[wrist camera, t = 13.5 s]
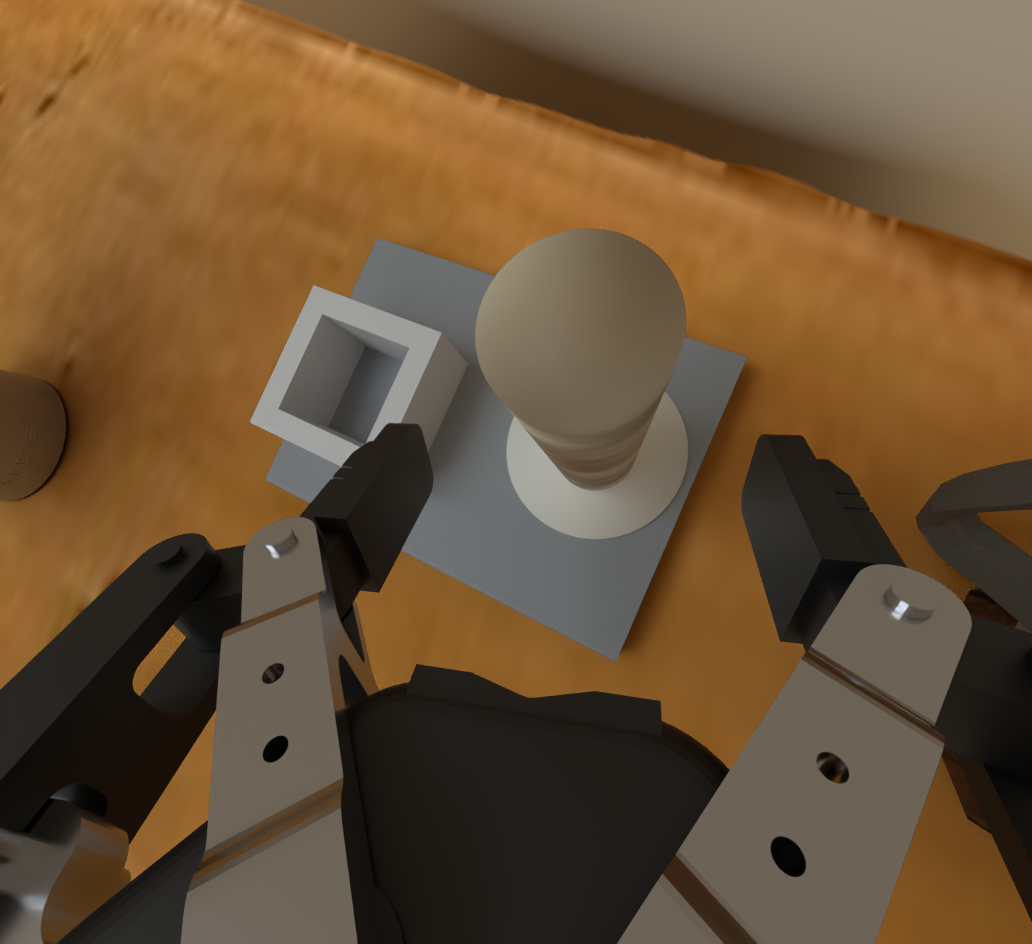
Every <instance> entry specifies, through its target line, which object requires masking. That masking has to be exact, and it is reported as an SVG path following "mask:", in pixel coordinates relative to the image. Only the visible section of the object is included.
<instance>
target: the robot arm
mask: <svg viewBox="0 0 1032 944" xmlns="http://www.w3.org/2000/svg"><path fill="white" fill-rule="evenodd" d="M65 436H66V417H65V410H64V407H63V404H62V401H61V399H60V397H59V396H58V394H57V393H56V391H55V390H54V389H53V388H52V387H51V386H50V385H49V384H47V383H45V382H43V381H41V380H39V379H35V378H31V377H27V376H23V375H20V374H16V373H12V372H8V371H4V370H0V501H14V500H18V499H21V498H24V497H26V496H28V495H29V494H31V493H33V492H34V491H35V490H36V489H38V488H39V487H40V486H41V485H42V484H43V483H44V482H45V481H46V480H47V478H48V477H49V476H50V475H51V473H52V471H53V470H54V468H55V466H56V464H57V463H58V460H59V458H60V455H61V453H62V450H63V446H64V441H65ZM432 488H433V470H432V466H431V463H430V459H429V455H428V451H427V447H426V443H425V440H424V436H423V432H422V429H421V427H420V426H419V425H418V424H412V423H388V424H386V425H385V427H384V428H383V429H382V430H381V432H380V433H379V434H378V435H377V437H376V438H375V439H374V440H373V441H369V442H367V443H366V444H364V445H363V446H361V447H360V448H358V449H357V450H355V451H354V452H353V453H352V454H351V455H350V456H349V457H348V459H347V460H346V461H345V462H344V463H343V465H342V468H339V469H338V471H337V472H336V473H335V474H334V476H333V479H330V480H329V482H328V483H327V484H326V485H325V486H324V488H323V489H322V490H321V491H320V492H319V494H318V495H317V496H316V497H315V498H314V500H313V501H312V502H311V503H310V504H309V506H308V507H307V508H306V509H305V511H304V512H303V513H302V514H301V515H300V517H290V518H285V519H282V520H278V521H276V522H273V523H271V524H269V525H267V526H266V527H264V528H263V529H261V530H260V531H258V532H257V533H256V534H255V535H254V536H253V537H252V538H251V539H250V540H249V541H248V543H247V545H243V546H237V547H231V548H225V549H219V550H214V549H213V547H212V546H211V545H210V543H209V542H208V541H207V539H206V538H205V537H204V536H202V535H200V534H195V533H189V534H182V535H178V536H175V537H172V538H169V539H167V540H164V541H162V542H160V543H158V544H157V545H155V546H153V547H152V548H150V549H149V550H147V551H146V552H145V553H144V554H142V555H141V556H140V557H139V558H138V559H137V560H136V561H135V562H134V563H133V564H132V565H131V566H130V567H129V568H127V569H126V570H125V571H124V572H123V573H122V574H121V575H120V576H119V577H118V578H117V579H116V580H115V581H114V582H113V583H112V584H111V585H110V586H109V587H108V588H107V589H105V590H104V591H103V592H102V593H101V594H100V595H99V596H98V597H97V598H96V599H95V600H94V601H93V602H92V603H91V604H90V605H89V606H88V607H87V608H86V609H85V610H83V611H82V612H81V613H80V614H79V615H78V616H77V617H76V618H75V619H74V620H73V621H72V622H71V623H70V624H69V625H68V626H67V627H66V628H65V629H64V630H63V631H61V632H60V633H59V634H58V635H57V636H56V637H55V638H54V639H53V640H52V641H51V642H50V643H49V644H48V645H47V646H46V647H45V648H44V649H43V650H42V651H41V652H39V653H38V654H37V655H36V656H35V657H34V658H33V659H32V660H31V661H30V662H29V663H28V664H27V665H26V666H25V667H24V668H23V669H22V670H21V671H20V672H19V673H17V674H16V675H15V676H14V677H13V678H12V679H11V680H10V681H9V682H8V683H7V684H6V685H5V686H4V687H3V688H2V689H1V690H0V944H875V941H876V938H877V935H878V933H879V930H880V927H881V924H882V921H883V919H884V916H885V913H886V910H887V907H888V904H889V902H890V899H891V896H892V893H893V890H894V888H895V885H896V882H897V879H898V876H899V873H900V871H901V868H902V865H903V862H904V859H905V857H906V854H907V851H908V848H909V845H910V842H911V840H912V837H913V834H914V831H915V828H916V825H917V823H918V820H919V817H920V814H921V811H922V809H923V806H924V803H925V800H926V797H927V794H928V792H929V789H930V786H931V783H932V780H933V778H934V775H935V772H936V769H937V766H938V763H939V761H940V758H941V755H942V752H943V748H944V747H945V748H947V749H950V750H952V751H954V753H955V755H956V758H957V760H958V762H959V764H960V766H961V769H962V771H963V773H964V775H965V777H966V779H967V782H968V784H969V786H970V788H971V790H972V793H973V795H974V797H975V799H976V801H977V803H978V806H979V808H980V810H981V812H982V814H983V816H984V819H985V821H986V823H987V825H988V827H989V830H990V832H991V834H992V836H993V838H994V840H995V843H996V845H997V847H998V849H999V851H1000V854H1001V856H1002V858H1003V860H1004V862H1005V864H1006V867H1007V869H1008V871H1009V873H1010V875H1011V877H1012V880H1013V882H1014V884H1015V886H1016V888H1017V891H1018V893H1019V895H1020V897H1021V899H1022V901H1023V904H1024V906H1025V908H1026V910H1027V912H1028V915H1029V917H1030V919H1031V921H1032V633H1029V632H1026V631H1023V630H1020V629H1016V628H1013V627H1010V626H1007V625H1003V624H1000V623H997V622H993V621H990V620H987V619H984V618H980V617H978V616H975V615H972V614H969V611H968V610H967V608H966V606H965V605H964V603H963V602H962V601H961V600H960V599H959V598H958V597H957V596H956V595H955V594H954V593H953V592H952V591H951V590H949V589H948V588H947V587H945V586H944V585H943V584H941V583H939V582H938V581H936V580H934V579H933V578H931V577H929V576H927V575H925V574H922V573H920V572H917V571H915V570H912V569H909V568H907V567H906V565H905V564H904V562H903V560H902V559H901V557H900V556H899V554H898V552H897V551H896V549H895V548H894V546H893V545H892V543H891V541H890V540H889V538H888V537H887V535H886V533H885V532H884V530H883V529H882V527H881V525H880V524H879V522H878V521H877V519H876V518H875V516H874V514H873V513H872V512H870V511H869V510H870V508H869V506H868V505H867V503H866V502H865V500H864V498H863V497H860V492H859V491H858V489H857V487H856V486H855V484H854V483H853V481H852V479H851V478H850V476H849V475H848V474H846V473H845V472H844V471H842V470H841V469H840V468H838V467H837V466H836V465H835V464H833V463H832V462H831V461H829V460H826V459H816V458H815V456H814V454H813V453H812V451H811V449H810V447H809V446H808V444H807V442H806V440H805V439H804V437H803V436H801V435H769V434H763V435H761V436H760V437H759V439H758V441H757V444H756V447H755V450H754V454H753V457H752V461H751V464H750V467H749V471H748V474H747V477H746V481H745V484H744V488H743V492H742V514H743V518H744V521H745V524H746V528H747V531H748V535H749V538H750V541H751V545H752V548H753V551H754V555H755V558H756V562H757V565H758V568H759V572H760V575H761V578H762V582H763V585H764V589H765V592H766V595H767V599H768V602H769V605H770V609H771V612H772V616H773V619H774V622H775V626H776V629H777V632H778V636H779V639H780V641H782V642H791V643H799V644H803V646H804V648H805V651H806V653H805V654H804V656H803V657H802V659H801V661H800V662H799V664H798V665H797V667H796V668H795V670H794V671H793V673H792V674H791V676H790V678H789V679H788V681H787V682H786V684H785V685H784V687H783V688H782V690H781V692H780V693H779V695H778V696H777V698H776V699H775V701H774V702H773V704H772V706H771V707H770V709H769V710H768V712H767V713H766V715H765V716H764V718H763V720H762V721H761V723H760V724H759V726H758V727H757V729H756V730H755V732H754V733H753V735H752V737H751V738H750V740H749V741H748V743H747V744H746V746H745V747H744V749H743V751H742V752H741V754H740V755H739V757H738V758H737V760H736V761H735V763H734V765H733V766H732V768H731V769H730V770H729V769H728V768H727V767H726V766H725V765H724V763H723V762H722V761H721V760H720V759H718V758H717V757H716V756H715V755H714V754H713V753H712V752H711V751H709V750H708V749H707V748H706V747H705V746H703V745H702V744H701V743H699V742H698V741H697V740H695V739H694V738H692V737H691V736H690V735H688V734H686V733H684V732H683V731H681V730H679V729H678V728H676V727H674V726H672V725H670V724H667V723H665V722H663V721H662V720H661V703H660V701H656V700H650V699H643V698H637V697H630V696H623V695H617V694H610V693H604V692H597V691H592V692H583V693H574V694H565V695H556V696H547V697H538V698H528V697H524V696H522V695H519V694H517V693H515V692H513V691H511V690H509V689H506V688H504V687H502V686H500V685H498V684H495V683H493V682H491V681H489V680H487V679H484V678H482V677H480V676H478V675H476V674H473V673H471V672H465V671H458V670H451V669H445V668H438V667H432V666H425V665H418V664H416V667H415V669H414V672H413V675H412V677H411V680H410V682H408V683H403V684H399V685H395V686H391V687H388V688H385V689H383V690H380V691H379V689H378V687H377V685H376V682H375V679H374V676H373V673H372V669H371V665H370V661H369V656H368V652H367V647H366V643H365V639H364V634H363V630H362V626H361V621H360V617H359V612H358V608H357V605H356V603H355V601H354V600H355V598H356V596H357V595H358V593H359V591H360V590H361V591H370V592H378V593H379V591H380V590H381V588H382V586H383V584H384V582H385V580H386V578H387V576H388V574H389V572H390V571H391V569H392V567H393V565H394V563H395V561H396V559H397V557H398V555H399V553H400V551H401V550H402V548H403V546H404V544H405V542H406V540H407V538H408V536H409V534H410V532H411V531H412V529H413V527H414V525H415V523H416V521H417V519H418V517H419V515H420V513H421V512H422V510H423V508H424V506H425V504H426V502H427V500H428V498H429V496H430V494H431V492H432ZM173 624H174V625H175V626H176V627H177V628H178V629H179V630H180V631H181V632H182V633H183V634H184V635H185V637H186V639H185V640H184V641H183V642H182V644H181V645H180V646H179V647H178V649H177V650H176V651H175V652H174V654H173V655H172V656H171V657H170V659H169V660H168V661H167V663H166V664H165V665H164V666H163V668H162V669H161V670H160V671H159V673H158V674H157V675H156V676H155V678H154V679H153V680H152V681H151V683H150V684H149V685H148V687H147V688H146V689H145V690H144V692H143V693H142V694H141V695H140V696H138V695H137V694H136V693H135V691H134V690H133V684H132V682H133V677H134V674H135V671H136V669H137V668H138V666H139V665H140V663H141V662H142V661H143V660H144V658H145V657H146V656H147V655H148V654H149V652H150V651H151V650H152V649H153V648H154V647H155V645H156V644H157V643H158V642H159V641H160V639H161V638H162V637H163V636H164V635H165V633H166V632H167V631H168V630H169V629H170V627H171V626H172V625H173ZM215 710H216V719H215V732H214V746H213V759H212V773H211V787H210V800H209V814H208V820H207V821H206V822H205V823H204V824H202V825H201V826H200V827H199V828H197V829H196V830H195V831H194V832H192V833H191V834H190V835H189V836H187V837H186V838H185V839H184V840H182V841H181V842H180V843H179V844H177V845H176V846H175V847H174V848H172V849H171V850H170V851H169V852H167V853H166V854H165V855H164V856H162V857H161V858H160V859H159V860H157V861H156V862H155V863H154V864H152V865H151V866H150V867H149V868H147V869H146V870H145V871H144V872H142V873H141V874H140V875H139V876H137V877H136V878H135V879H134V880H132V881H131V874H130V872H129V870H127V869H125V868H124V866H125V863H126V859H127V856H128V849H129V844H130V843H131V841H132V840H133V838H134V837H135V835H136V833H137V832H138V830H139V829H140V827H141V826H142V824H143V823H144V821H145V819H146V818H147V816H148V815H149V813H150V812H151V810H152V809H153V807H154V805H155V804H156V802H157V801H158V799H159V798H160V796H161V795H162V793H163V791H164V790H165V788H166V787H167V785H168V784H169V782H170V781H171V779H172V777H173V776H174V774H175V773H176V771H177V770H178V768H179V767H180V765H181V763H182V762H183V760H184V759H185V757H186V756H187V754H188V752H189V751H190V749H191V748H192V746H193V745H194V743H195V742H196V740H197V738H198V737H199V735H200V734H201V732H202V731H203V729H204V728H205V726H206V724H207V723H208V721H209V720H210V718H211V717H212V715H213V714H214V712H215Z"/></svg>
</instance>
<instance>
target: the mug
mask: <svg viewBox="0 0 1032 944" xmlns="http://www.w3.org/2000/svg"><path fill="white" fill-rule="evenodd" d="M1028 509H1032V459H1029V460H1024V461H1018V462H1012V463H1007V464H1002V465H998V466H994V467H990V468H986V469H982V470H978V471H974V472H970V473H966V474H962V475H960V476H958V477H956V478H954V479H951V480H949V481H947V482H945V483H943V484H941V485H940V487H939V488H938V489H937V490H936V492H935V493H934V494H933V495H932V496H931V498H930V499H929V500H928V502H927V503H926V504H925V506H924V507H923V508H922V510H921V511H920V512H919V514H918V515H917V517H916V521H917V524H918V527H919V529H920V530H921V532H922V533H923V535H924V536H925V538H926V539H927V541H928V542H929V544H930V545H931V547H932V548H933V550H934V551H935V553H936V554H937V555H939V556H940V557H941V558H942V559H944V560H945V561H946V562H947V563H949V564H950V565H951V566H953V567H954V568H955V569H956V570H958V571H959V572H960V573H961V574H963V575H964V576H965V577H966V578H968V579H969V580H970V581H972V582H973V583H974V584H975V585H977V586H978V587H979V588H980V589H975V590H971V591H969V593H968V595H967V597H966V599H965V601H964V605H965V606H966V608H967V610H968V611H969V614H972V615H975V616H978V617H980V618H984V619H987V620H990V621H993V622H997V623H1000V624H1003V625H1007V626H1010V627H1013V628H1016V629H1020V630H1023V631H1026V632H1029V633H1032V557H1030V556H1029V555H1028V554H1027V553H1025V552H1024V551H1022V550H1021V549H1020V548H1018V547H1017V546H1015V545H1014V544H1013V543H1011V542H1010V541H1008V540H1007V539H1006V538H1004V537H1003V536H1001V535H1000V534H999V533H997V532H996V531H994V530H993V529H992V528H990V527H989V526H987V525H986V524H985V523H983V522H982V521H981V520H980V519H979V517H978V515H977V514H976V513H978V512H992V511H1010V510H1028ZM942 758H943V760H944V762H945V765H946V767H947V770H948V772H949V775H950V777H951V779H952V782H953V784H954V787H955V789H956V792H957V794H958V796H959V799H960V801H961V804H962V806H963V809H964V811H965V813H966V816H967V818H968V819H969V820H970V821H972V822H974V823H975V824H977V825H978V826H980V827H981V828H983V829H984V830H986V831H988V832H989V833H991V832H990V830H989V827H988V825H987V823H986V821H985V819H984V816H983V814H982V812H981V810H980V808H979V806H978V803H977V801H976V799H975V797H974V795H973V793H972V790H971V788H970V786H969V784H968V782H967V779H966V777H965V775H964V773H963V771H962V769H961V766H960V764H959V762H958V760H957V758H956V755H955V753H954V751H952V750H950V749H947V748H945V747H944V748H943V752H942Z"/></svg>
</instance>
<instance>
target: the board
mask: <svg viewBox="0 0 1032 944" xmlns="http://www.w3.org/2000/svg"><path fill="white" fill-rule="evenodd" d="M494 278H495V276H494V275H491V274H488V273H485V272H482V271H479V270H476V269H473V268H469V267H466V266H463V265H460V264H457V263H454V262H451V261H448V260H445V259H442V258H438V257H435V256H432V255H429V254H426V253H423V252H420V251H417V250H414V249H411V248H407V247H404V246H401V245H398V244H395V243H392V242H389V241H386V240H383V239H380V238H377V240H376V242H375V244H374V247H373V249H372V251H371V253H370V255H369V257H368V259H367V262H366V264H365V266H364V268H363V270H362V272H361V275H360V277H359V279H358V281H357V283H356V285H355V287H354V290H353V292H352V294H351V296H350V298H347V297H344V296H341V295H338V294H336V293H333V292H330V291H328V290H325V289H322V288H319V287H317V286H313V288H312V290H311V292H310V294H309V296H308V298H307V301H306V303H305V305H304V307H303V309H302V311H301V313H300V316H299V318H298V320H297V322H296V324H295V326H294V328H293V331H292V333H291V335H290V337H289V339H288V341H287V343H286V345H285V348H284V350H283V352H282V354H281V356H280V358H279V360H278V363H277V365H276V367H275V369H274V371H273V373H272V375H271V377H270V380H269V382H268V384H267V386H266V388H265V390H264V392H263V395H262V397H261V399H260V401H259V403H258V405H257V407H256V409H255V412H254V414H253V416H252V418H251V420H250V423H252V424H254V425H256V426H258V427H260V428H262V429H264V430H266V431H269V432H271V433H273V434H275V435H277V436H279V437H281V438H283V439H284V440H283V442H282V444H281V446H280V449H279V451H278V453H277V455H276V457H275V459H274V461H273V464H272V466H271V468H270V470H269V472H268V474H267V477H266V479H265V480H266V481H268V482H270V483H272V484H274V485H276V486H278V487H280V488H282V489H283V490H285V491H287V492H289V493H291V494H293V495H295V496H297V497H299V498H301V499H303V500H305V501H307V502H308V503H311V502H312V501H313V500H314V498H315V497H316V496H317V495H318V494H319V492H320V491H321V490H322V489H323V488H324V486H325V485H326V484H327V483H328V482H329V480H330V479H333V476H334V474H335V473H336V472H337V471H338V469H339V468H342V465H343V463H344V462H345V461H346V460H347V459H348V457H349V456H350V455H351V454H352V453H353V452H354V451H355V450H357V449H358V448H360V447H361V446H363V445H364V444H366V443H367V442H369V441H373V440H374V439H375V438H376V437H377V435H378V434H379V433H380V432H381V430H382V429H383V428H384V427H385V425H386V424H388V423H412V424H418V425H419V426H420V427H421V429H422V432H423V436H424V440H425V443H426V447H427V451H428V455H429V459H430V463H431V466H432V470H433V488H432V492H431V494H430V496H429V498H428V500H427V502H426V504H425V506H424V508H423V510H422V512H421V513H420V515H419V517H418V519H417V521H416V523H415V525H414V527H413V529H412V531H411V532H410V534H409V536H408V538H407V540H406V542H405V544H404V546H403V548H402V550H401V551H403V552H405V553H407V554H409V555H410V556H412V557H414V558H416V559H418V560H420V561H422V562H424V563H426V564H428V565H430V566H432V567H434V568H435V569H437V570H439V571H441V572H443V573H445V574H447V575H449V576H451V577H453V578H455V579H457V580H459V581H461V582H462V583H464V584H466V585H468V586H470V587H472V588H474V589H476V590H478V591H480V592H482V593H484V594H486V595H487V596H489V597H491V598H493V599H495V600H497V601H499V602H501V603H503V604H505V605H507V606H509V607H511V608H512V609H514V610H516V611H518V612H520V613H522V614H524V615H526V616H528V617H530V618H532V619H534V620H536V621H537V622H539V623H541V624H543V625H545V626H547V627H549V628H551V629H553V630H555V631H557V632H559V633H561V634H563V635H564V636H566V637H568V638H570V639H572V640H574V641H576V642H578V643H580V644H582V645H584V646H586V647H588V648H589V649H591V650H593V651H595V652H597V653H599V654H601V655H603V656H605V657H607V658H609V659H611V660H613V661H614V662H616V661H617V658H618V656H619V654H620V651H621V649H622V647H623V644H624V642H625V640H626V637H627V635H628V633H629V630H630V628H631V626H632V623H633V621H634V619H635V616H636V614H637V612H638V609H639V607H640V605H641V603H642V600H643V598H644V596H645V593H646V591H647V589H648V586H649V584H650V582H651V579H652V577H653V575H654V572H655V570H656V568H657V565H658V563H659V561H660V558H661V556H662V554H663V551H664V549H665V547H666V545H667V542H668V540H669V538H670V535H671V533H672V531H673V528H674V526H675V524H676V521H677V519H678V517H679V514H680V512H681V510H682V507H683V505H684V503H685V500H686V498H687V496H688V494H689V491H690V489H691V487H692V484H693V482H694V480H695V477H696V475H697V473H698V470H699V468H700V466H701V463H702V461H703V459H704V456H705V454H706V452H707V449H708V447H709V445H710V442H711V440H712V438H713V436H714V433H715V431H716V429H717V426H718V424H719V422H720V419H721V417H722V415H723V412H724V410H725V408H726V405H727V403H728V401H729V398H730V396H731V394H732V391H733V389H734V387H735V384H736V382H737V380H738V378H739V375H740V373H741V371H742V368H743V366H744V364H745V361H746V359H747V357H745V356H742V355H739V354H736V353H733V352H730V351H727V350H724V349H721V348H718V347H714V346H711V345H708V344H705V343H702V342H699V341H696V340H693V339H690V338H687V337H685V338H684V343H683V348H682V350H681V353H680V356H679V359H678V361H677V364H676V366H675V368H674V371H673V373H672V375H671V378H670V380H669V382H668V385H667V387H666V389H665V392H664V394H663V396H662V399H661V401H660V403H659V406H658V408H657V410H656V413H655V415H654V417H653V420H652V422H651V424H650V427H649V429H648V431H647V434H646V436H645V438H644V441H643V443H642V445H641V448H640V450H639V452H638V455H637V457H636V459H635V462H634V464H633V466H632V468H631V470H630V472H629V473H628V475H627V476H626V477H625V478H624V479H623V480H622V481H621V482H619V483H618V484H616V485H615V486H613V487H610V488H607V489H604V490H595V491H594V490H586V489H582V488H579V487H577V486H575V485H573V484H572V483H571V482H569V481H568V480H567V479H566V478H565V477H564V476H563V474H562V473H561V472H560V471H559V470H558V468H557V467H556V466H555V465H554V464H553V462H552V461H551V460H550V459H549V458H548V456H547V455H546V454H545V453H544V452H543V450H542V449H541V448H540V447H539V446H538V444H537V443H536V442H535V441H534V439H533V438H532V437H531V436H530V435H529V433H528V432H527V431H526V430H525V429H524V427H523V426H522V425H521V424H520V423H519V421H518V420H517V419H516V418H515V417H514V415H513V414H512V413H511V412H510V410H509V409H508V408H507V407H506V406H505V404H504V403H503V402H502V401H501V400H500V398H499V397H498V396H497V395H496V394H495V392H494V391H493V390H492V388H491V387H490V385H489V384H488V382H487V380H486V379H485V376H484V374H483V372H482V370H481V367H480V364H479V361H478V357H477V351H476V345H475V329H476V321H477V316H478V312H479V308H480V305H481V302H482V300H483V297H484V295H485V293H486V291H487V289H488V287H489V285H490V283H491V282H492V281H493V279H494Z"/></svg>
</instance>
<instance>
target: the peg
mask: <svg viewBox="0 0 1032 944" xmlns="http://www.w3.org/2000/svg"><path fill="white" fill-rule="evenodd" d="M685 333H686V310H685V303H684V299H683V295H682V292H681V289H680V287H679V284H678V282H677V280H676V278H675V276H674V275H673V273H672V271H671V269H670V268H669V267H668V266H667V265H666V263H665V262H664V261H663V260H662V259H661V258H660V257H659V256H658V255H657V254H656V253H655V252H654V251H653V250H652V249H650V248H649V247H647V246H646V245H644V244H643V243H641V242H639V241H637V240H635V239H633V238H631V237H629V236H626V235H623V234H621V233H618V232H613V231H608V230H602V229H576V230H569V231H564V232H560V233H557V234H553V235H550V236H548V237H545V238H543V239H540V240H538V241H536V242H535V243H533V244H531V245H529V246H527V247H526V248H525V249H523V250H522V251H520V252H519V253H518V254H516V255H515V256H514V257H513V258H512V259H511V260H509V261H508V262H507V263H506V264H505V265H504V267H503V268H502V269H501V270H500V271H499V272H498V273H497V275H496V276H495V278H494V279H493V281H492V282H491V283H490V285H489V287H488V289H487V291H486V293H485V295H484V297H483V300H482V302H481V305H480V308H479V312H478V316H477V321H476V329H475V345H476V351H477V357H478V361H479V364H480V367H481V370H482V372H483V374H484V376H485V379H486V380H487V382H488V384H489V385H490V387H491V388H492V390H493V391H494V392H495V394H496V395H497V396H498V397H499V398H500V400H501V401H502V402H503V403H504V404H505V406H506V407H507V408H508V409H509V410H510V412H511V413H512V414H513V415H514V417H515V418H516V419H517V420H518V421H519V423H520V424H521V425H522V426H523V427H524V429H525V430H526V431H527V432H528V433H529V435H530V436H531V437H532V438H533V439H534V441H535V442H536V443H537V444H538V446H539V447H540V448H541V449H542V450H543V452H544V453H545V454H546V455H547V456H548V458H549V459H550V460H551V461H552V462H553V464H554V465H555V466H556V467H557V468H558V470H559V471H560V472H561V473H562V474H563V476H564V477H565V478H566V479H567V480H568V481H569V482H571V483H572V484H573V485H575V486H577V487H579V488H582V489H586V490H594V491H595V490H604V489H607V488H610V487H613V486H615V485H616V484H618V483H619V482H621V481H622V480H623V479H624V478H625V477H626V476H627V475H628V473H629V472H630V470H631V468H632V466H633V464H634V462H635V459H636V457H637V455H638V452H639V450H640V448H641V445H642V443H643V441H644V438H645V436H646V434H647V431H648V429H649V427H650V424H651V422H652V420H653V417H654V415H655V413H656V410H657V408H658V406H659V403H660V401H661V399H662V396H663V394H664V392H665V389H666V387H667V385H668V382H669V380H670V378H671V375H672V373H673V371H674V368H675V366H676V364H677V361H678V359H679V356H680V353H681V350H682V348H683V343H684V338H685Z"/></svg>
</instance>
